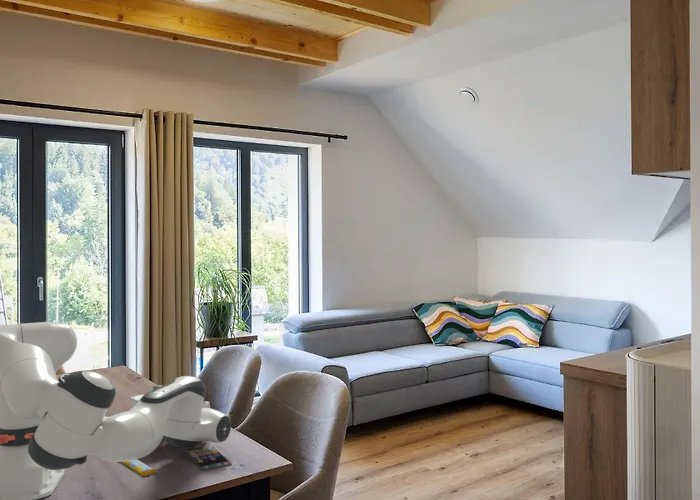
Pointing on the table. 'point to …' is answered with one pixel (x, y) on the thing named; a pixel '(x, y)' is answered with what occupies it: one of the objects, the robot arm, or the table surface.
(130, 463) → the candy bar
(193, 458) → the smartphone
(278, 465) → the table surface
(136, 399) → the skincare box
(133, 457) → the robot arm
